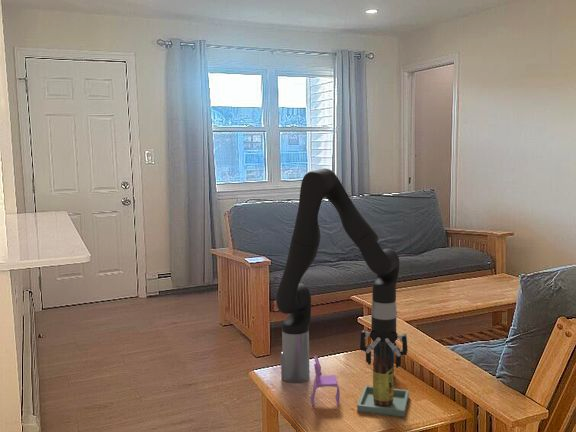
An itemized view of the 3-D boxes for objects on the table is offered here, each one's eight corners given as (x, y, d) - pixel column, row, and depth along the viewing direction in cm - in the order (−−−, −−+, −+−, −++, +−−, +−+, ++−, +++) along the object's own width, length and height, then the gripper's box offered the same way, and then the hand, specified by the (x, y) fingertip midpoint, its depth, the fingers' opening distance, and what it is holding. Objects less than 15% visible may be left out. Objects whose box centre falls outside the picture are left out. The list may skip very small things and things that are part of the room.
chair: (340, 407, 168) (339, 361, 166) (312, 408, 168) (311, 362, 166) (337, 395, 176) (337, 351, 174) (310, 396, 176) (309, 352, 174)
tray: (357, 412, 165) (357, 405, 164) (365, 391, 178) (365, 385, 178) (404, 417, 160) (404, 410, 160) (408, 396, 174) (408, 390, 173)
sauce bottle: (393, 408, 165) (393, 345, 163) (372, 406, 167) (372, 344, 164) (393, 398, 172) (393, 337, 169) (373, 397, 173) (372, 337, 170)
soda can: (396, 373, 192) (396, 340, 190) (389, 380, 186) (389, 346, 184) (378, 369, 196) (378, 337, 194) (370, 376, 190) (370, 343, 188)
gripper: (358, 316, 164) (358, 367, 166) (406, 320, 160) (405, 372, 162) (362, 309, 171) (362, 358, 173) (408, 312, 167) (408, 363, 169)
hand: (383, 365), depth 168 cm, fingers open, 8 cm apart
